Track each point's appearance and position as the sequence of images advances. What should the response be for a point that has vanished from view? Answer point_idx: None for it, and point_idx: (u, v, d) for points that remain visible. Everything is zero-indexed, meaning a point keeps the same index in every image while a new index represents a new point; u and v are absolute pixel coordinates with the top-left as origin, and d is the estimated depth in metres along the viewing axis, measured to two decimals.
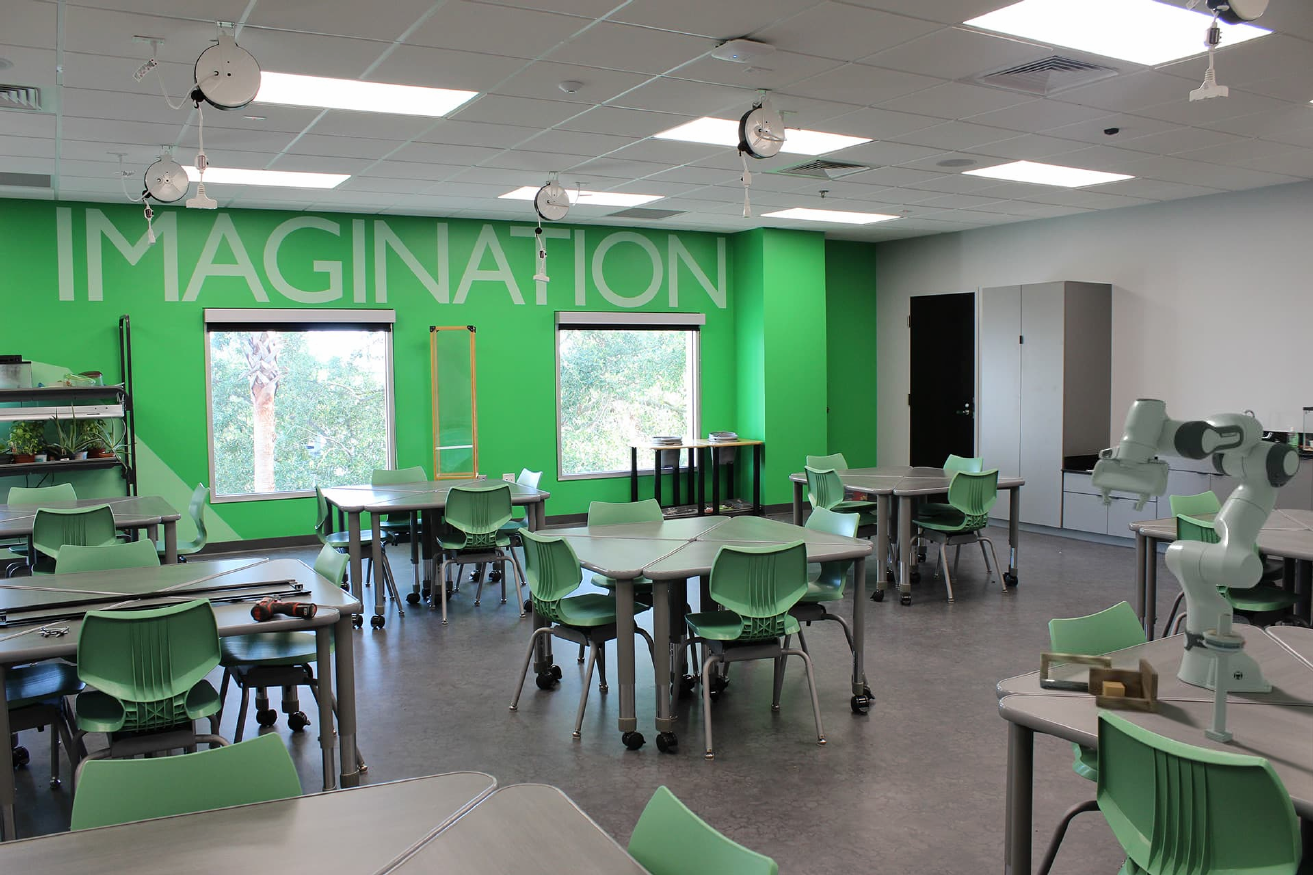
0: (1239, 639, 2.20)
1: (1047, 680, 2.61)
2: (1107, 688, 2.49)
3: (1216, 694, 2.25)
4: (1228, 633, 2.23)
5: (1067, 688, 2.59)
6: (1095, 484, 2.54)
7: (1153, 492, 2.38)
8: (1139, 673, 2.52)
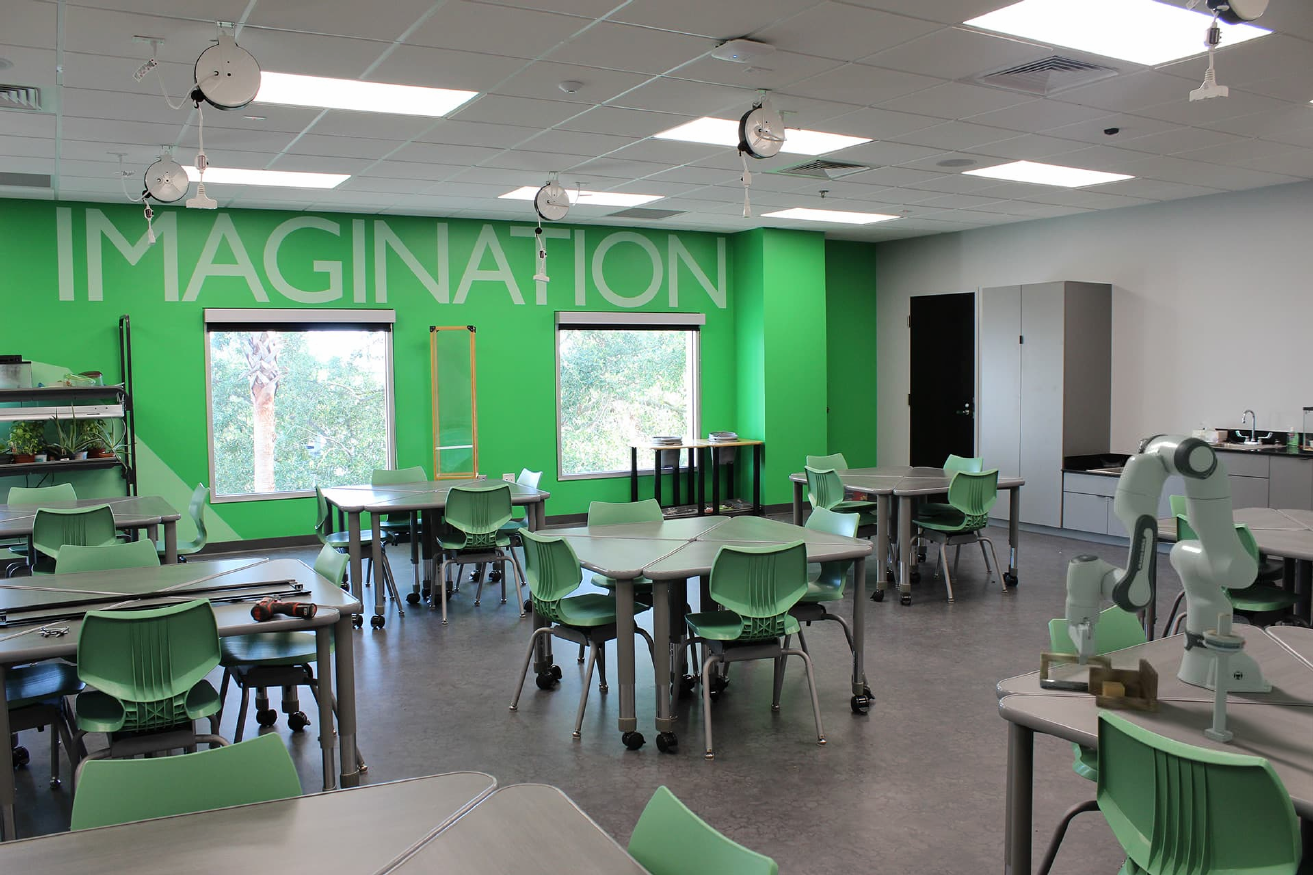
0: (1239, 639, 2.20)
1: (1047, 681, 2.60)
2: (1107, 688, 2.49)
3: (1216, 694, 2.25)
4: (1228, 633, 2.23)
5: (1067, 689, 2.59)
6: (1070, 636, 2.71)
7: (1081, 654, 2.54)
8: (1139, 673, 2.52)
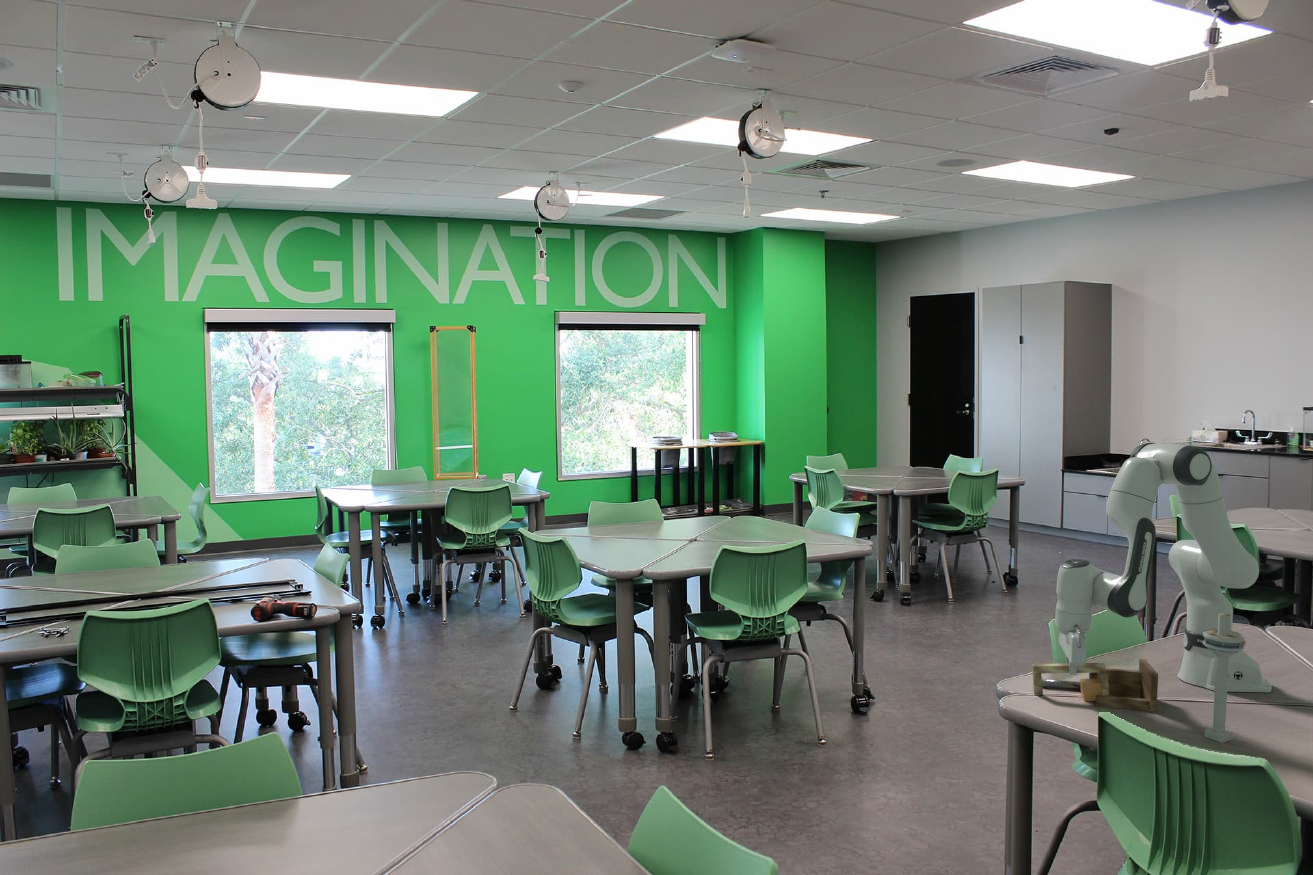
0: (1239, 639, 2.20)
1: (1047, 681, 2.60)
2: (1084, 686, 2.50)
3: (1216, 694, 2.25)
4: (1228, 633, 2.23)
5: (1067, 688, 2.59)
6: None
7: (1071, 663, 2.44)
8: (1139, 673, 2.52)
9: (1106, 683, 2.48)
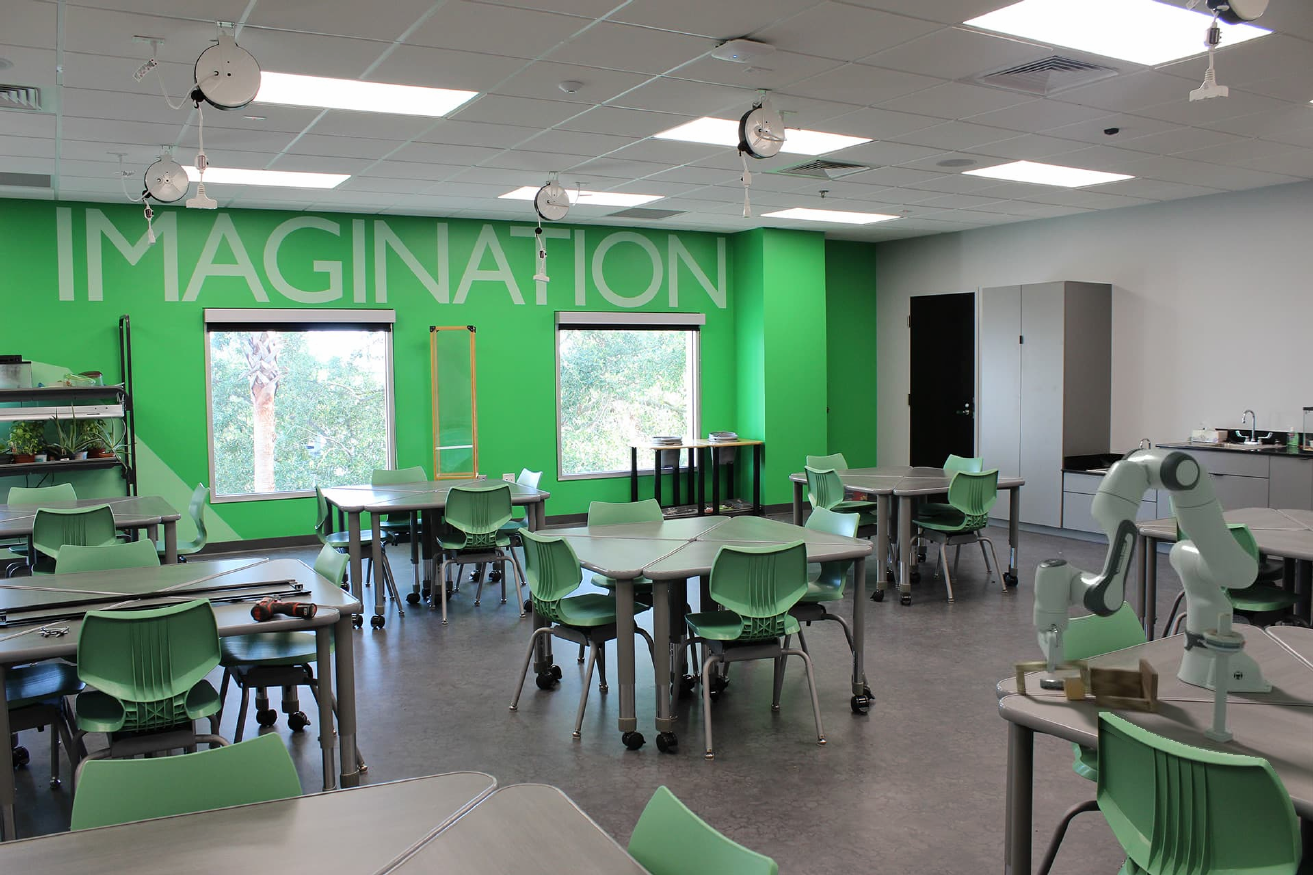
0: (1239, 639, 2.20)
1: (1047, 681, 2.60)
2: (1067, 684, 2.51)
3: (1216, 694, 2.25)
4: (1228, 633, 2.23)
5: None
6: None
7: (1048, 662, 2.45)
8: (1139, 673, 2.52)
9: (1088, 680, 2.49)
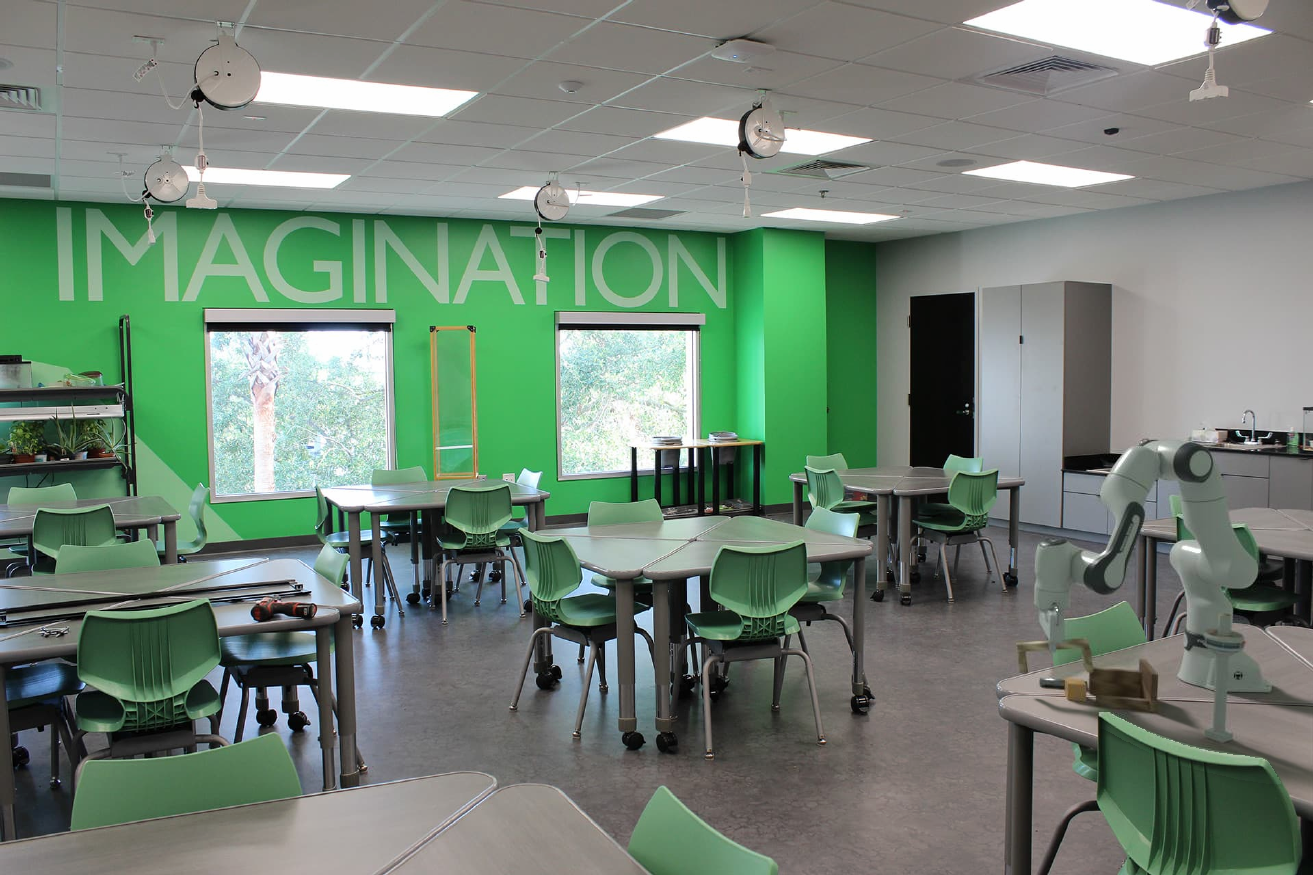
0: (1239, 639, 2.20)
1: (1046, 678, 2.62)
2: (1069, 685, 2.51)
3: (1216, 694, 2.25)
4: (1228, 633, 2.23)
5: None
6: (1040, 622, 2.62)
7: (1050, 641, 2.45)
8: (1139, 673, 2.52)
9: (1090, 658, 2.49)
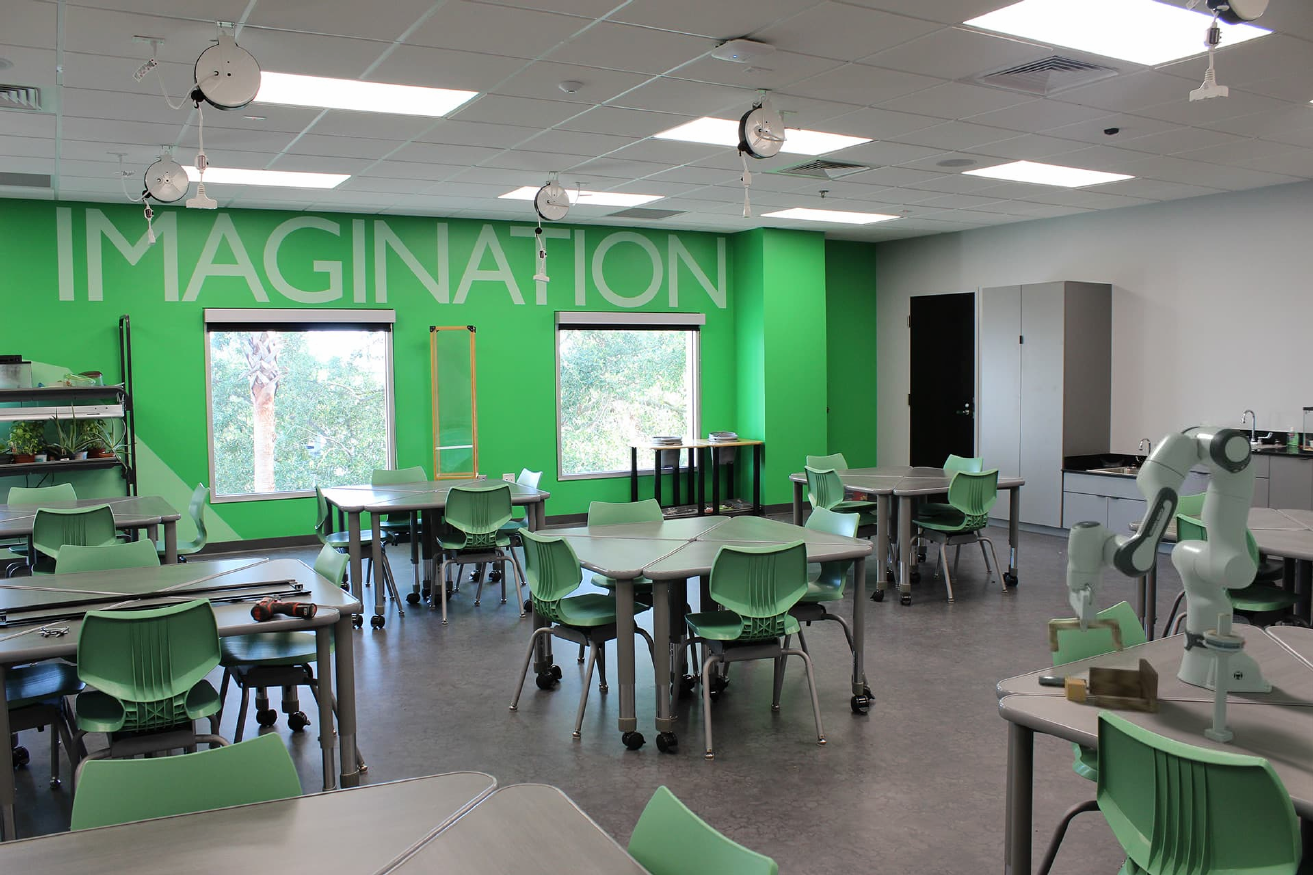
0: (1239, 639, 2.20)
1: None
2: (1069, 685, 2.51)
3: (1216, 694, 2.25)
4: (1228, 633, 2.23)
5: None
6: (1070, 603, 2.70)
7: (1082, 619, 2.54)
8: (1139, 673, 2.52)
9: (1120, 638, 2.57)
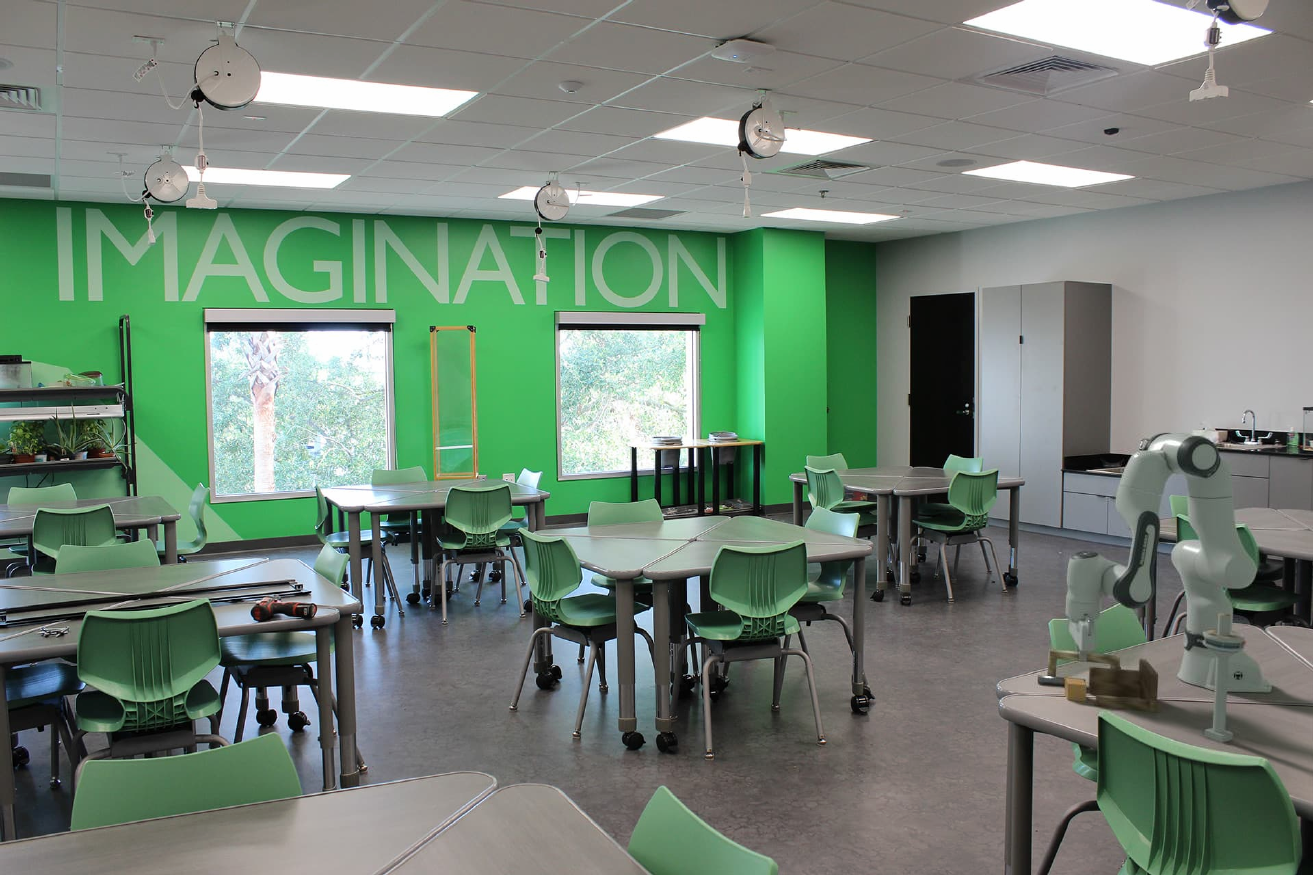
0: (1239, 639, 2.20)
1: None
2: (1069, 685, 2.51)
3: (1216, 694, 2.25)
4: (1228, 633, 2.23)
5: None
6: (1070, 632, 2.71)
7: (1081, 650, 2.54)
8: (1139, 673, 2.52)
9: None
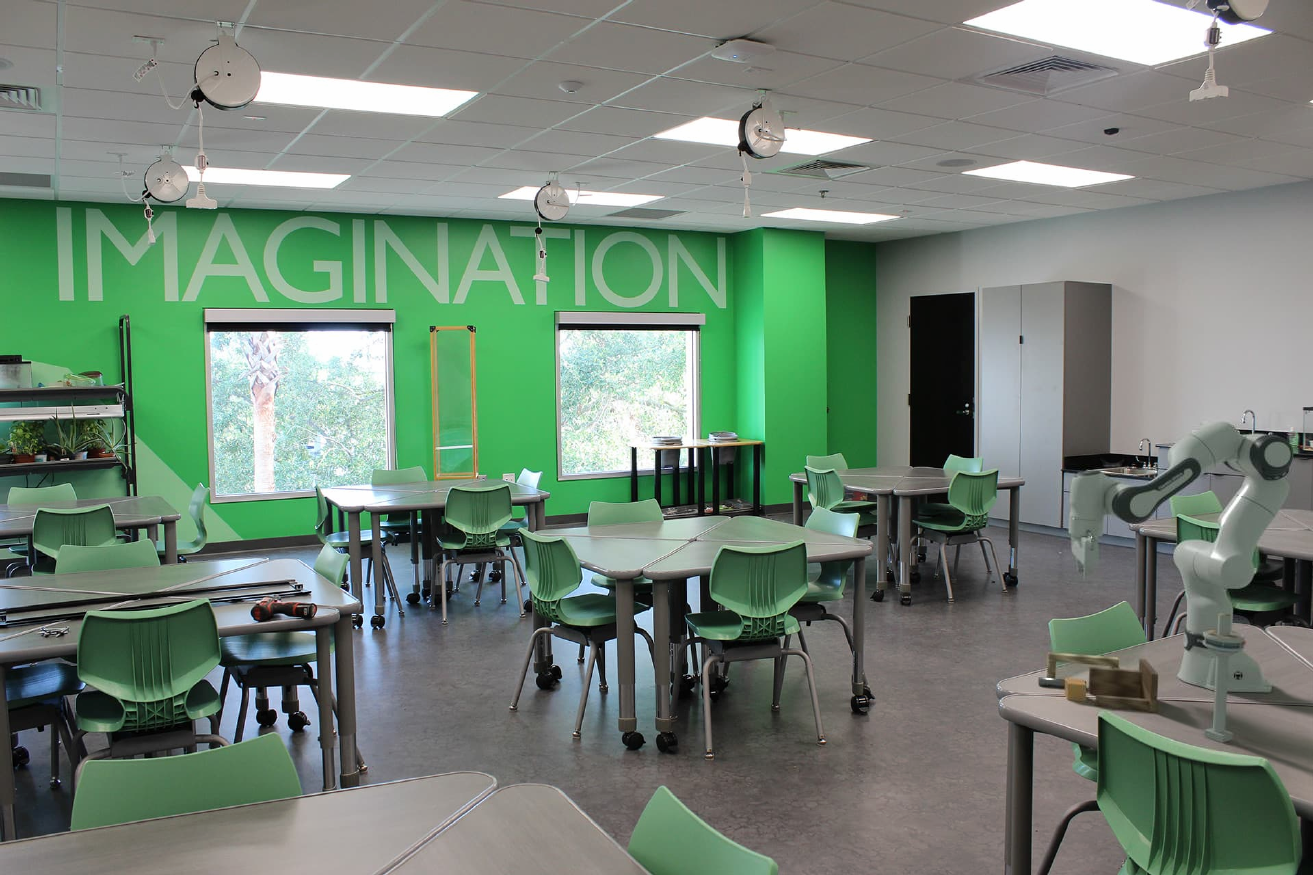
0: (1239, 639, 2.20)
1: None
2: (1069, 685, 2.51)
3: (1216, 694, 2.25)
4: (1228, 633, 2.23)
5: None
6: None
7: (1084, 565, 2.58)
8: (1139, 673, 2.52)
9: None
